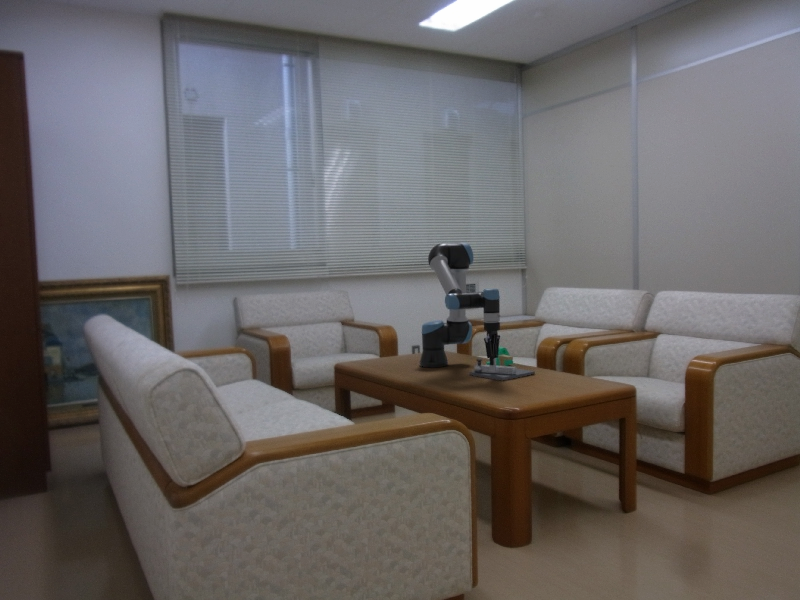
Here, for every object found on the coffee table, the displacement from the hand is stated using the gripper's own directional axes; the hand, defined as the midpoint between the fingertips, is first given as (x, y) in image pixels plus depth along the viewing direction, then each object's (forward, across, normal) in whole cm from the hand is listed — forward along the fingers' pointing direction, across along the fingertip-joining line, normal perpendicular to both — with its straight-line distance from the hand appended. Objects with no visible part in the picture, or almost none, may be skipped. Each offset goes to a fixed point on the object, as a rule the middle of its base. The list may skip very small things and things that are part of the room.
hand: (493, 371), depth 310 cm
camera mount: (+3, +31, +11) cm, 33 cm away
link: (+1, +4, +1) cm, 4 cm away
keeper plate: (+3, +8, -1) cm, 9 cm away
